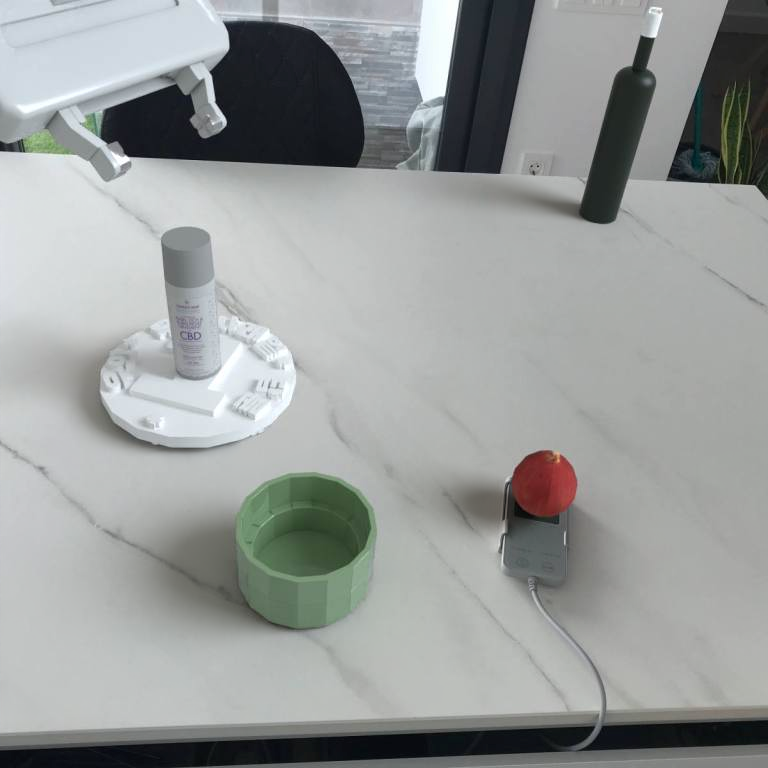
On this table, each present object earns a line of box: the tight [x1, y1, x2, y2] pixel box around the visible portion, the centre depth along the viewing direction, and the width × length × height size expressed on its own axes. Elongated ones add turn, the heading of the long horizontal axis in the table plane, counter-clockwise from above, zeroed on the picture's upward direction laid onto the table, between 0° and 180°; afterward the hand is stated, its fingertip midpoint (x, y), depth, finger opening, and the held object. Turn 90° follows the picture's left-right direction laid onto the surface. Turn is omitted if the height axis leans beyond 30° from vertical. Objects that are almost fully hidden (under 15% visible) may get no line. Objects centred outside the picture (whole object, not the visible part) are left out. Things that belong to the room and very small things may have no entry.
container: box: [160, 226, 221, 380], centre depth 76 cm, size 5×5×15 cm
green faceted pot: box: [235, 471, 378, 630], centre depth 63 cm, size 11×11×6 cm
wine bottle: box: [578, 5, 664, 224], centre depth 111 cm, size 6×6×30 cm
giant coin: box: [99, 315, 297, 449], centre depth 81 cm, size 20×20×3 cm
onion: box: [511, 449, 579, 518], centre depth 70 cm, size 6×6×8 cm
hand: (171, 152), depth 54 cm, fingers open, 8 cm apart
